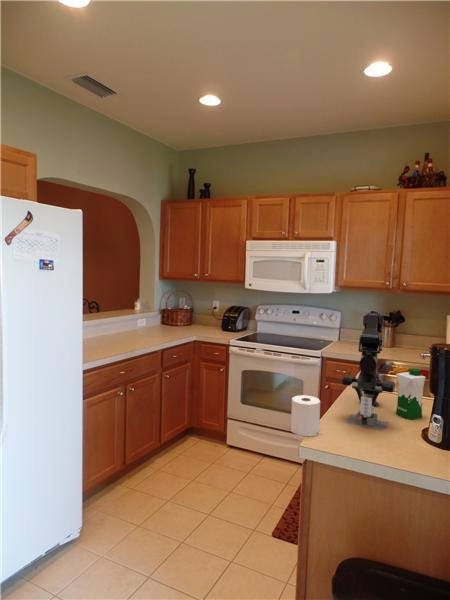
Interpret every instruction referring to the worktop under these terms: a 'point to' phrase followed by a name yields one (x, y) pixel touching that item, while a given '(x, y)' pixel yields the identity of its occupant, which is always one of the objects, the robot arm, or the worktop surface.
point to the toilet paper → (305, 415)
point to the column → (366, 405)
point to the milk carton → (410, 394)
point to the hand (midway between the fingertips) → (367, 404)
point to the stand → (367, 421)
